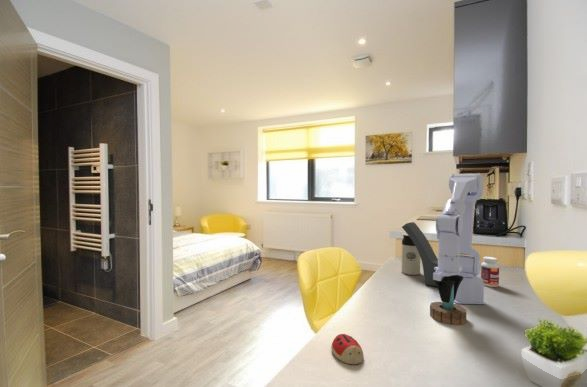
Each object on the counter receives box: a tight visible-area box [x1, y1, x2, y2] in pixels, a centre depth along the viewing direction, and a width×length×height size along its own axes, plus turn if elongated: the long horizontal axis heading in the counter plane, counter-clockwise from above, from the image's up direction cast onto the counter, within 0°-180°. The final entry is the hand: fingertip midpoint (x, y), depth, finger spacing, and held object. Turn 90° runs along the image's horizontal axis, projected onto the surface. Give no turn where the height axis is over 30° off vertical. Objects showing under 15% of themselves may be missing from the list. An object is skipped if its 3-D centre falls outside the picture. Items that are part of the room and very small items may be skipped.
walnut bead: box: [429, 301, 467, 326], centre depth 91 cm, size 10×10×3 cm
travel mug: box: [401, 232, 421, 276], centre depth 140 cm, size 8×8×18 cm
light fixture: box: [401, 221, 438, 287], centre depth 126 cm, size 11×17×24 cm, turn 45°
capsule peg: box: [441, 285, 455, 311], centre depth 91 cm, size 3×3×8 cm
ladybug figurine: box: [330, 333, 365, 365], centre depth 71 cm, size 7×10×4 cm
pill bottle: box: [480, 256, 500, 288], centre depth 123 cm, size 6×6×11 cm
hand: (448, 300), depth 91 cm, fingers closed on capsule peg, 3 cm apart
